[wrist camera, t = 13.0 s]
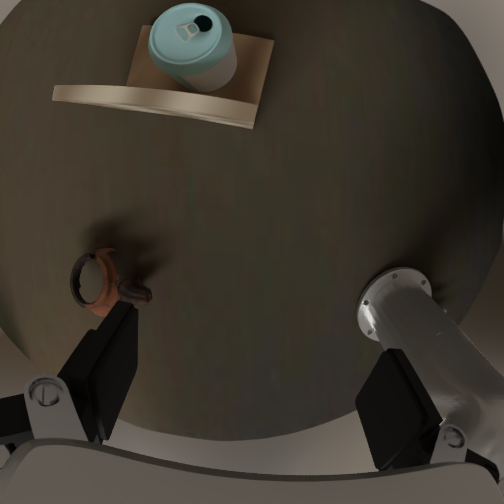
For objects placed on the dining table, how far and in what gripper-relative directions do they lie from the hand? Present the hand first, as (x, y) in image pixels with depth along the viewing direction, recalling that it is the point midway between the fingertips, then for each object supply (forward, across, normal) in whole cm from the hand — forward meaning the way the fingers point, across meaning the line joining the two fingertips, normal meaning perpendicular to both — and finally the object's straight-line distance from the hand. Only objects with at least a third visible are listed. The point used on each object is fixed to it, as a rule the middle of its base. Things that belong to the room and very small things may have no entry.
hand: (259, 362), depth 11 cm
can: (+27, +9, -15) cm, 32 cm away
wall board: (+28, +10, -14) cm, 33 cm away
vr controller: (+29, +16, +14) cm, 36 cm away
